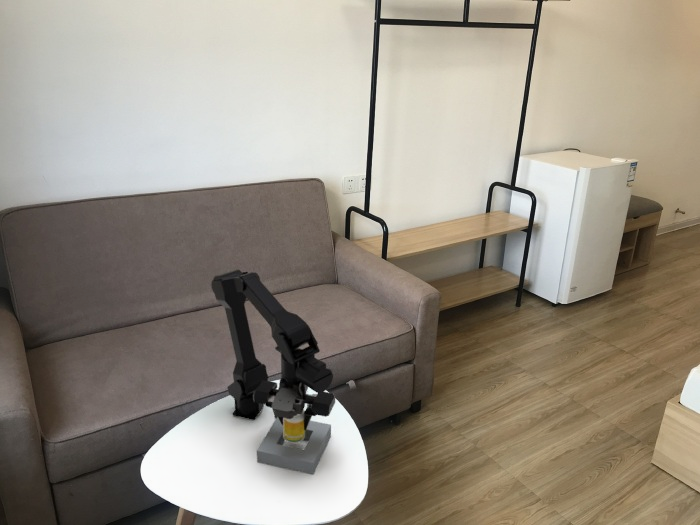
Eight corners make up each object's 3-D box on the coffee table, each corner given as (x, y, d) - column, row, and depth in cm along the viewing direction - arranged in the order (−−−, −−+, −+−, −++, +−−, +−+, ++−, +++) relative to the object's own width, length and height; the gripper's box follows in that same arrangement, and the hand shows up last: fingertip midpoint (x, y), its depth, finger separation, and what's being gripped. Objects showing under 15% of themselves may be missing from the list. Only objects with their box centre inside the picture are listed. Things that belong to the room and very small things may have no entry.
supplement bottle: (280, 431, 142) (280, 399, 138) (301, 427, 143) (302, 396, 139) (286, 446, 137) (286, 413, 133) (307, 442, 139) (308, 409, 135)
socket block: (257, 462, 137) (256, 450, 136) (279, 425, 149) (278, 414, 148) (313, 474, 134) (313, 462, 132) (330, 435, 146) (331, 424, 145)
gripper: (241, 384, 128) (244, 440, 134) (321, 400, 123) (321, 457, 130) (261, 358, 138) (263, 411, 144) (336, 371, 133) (335, 425, 140)
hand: (294, 426), depth 139 cm, fingers closed on supplement bottle, 5 cm apart
